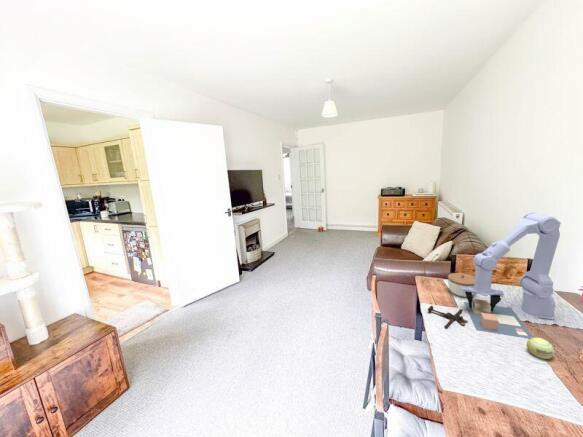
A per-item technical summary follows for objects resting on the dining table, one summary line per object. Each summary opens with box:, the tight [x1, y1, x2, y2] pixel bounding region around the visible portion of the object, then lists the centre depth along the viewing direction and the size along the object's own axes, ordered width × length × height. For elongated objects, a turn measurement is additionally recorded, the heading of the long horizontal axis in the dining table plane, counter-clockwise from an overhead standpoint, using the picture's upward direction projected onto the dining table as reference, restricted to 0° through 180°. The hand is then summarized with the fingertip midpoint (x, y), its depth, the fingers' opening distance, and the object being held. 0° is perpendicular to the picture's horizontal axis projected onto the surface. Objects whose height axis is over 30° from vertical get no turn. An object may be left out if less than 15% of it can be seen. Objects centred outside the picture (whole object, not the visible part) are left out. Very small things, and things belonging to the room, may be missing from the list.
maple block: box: [472, 298, 491, 315], centre depth 108 cm, size 6×6×4 cm
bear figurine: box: [427, 305, 468, 329], centre depth 107 cm, size 18×4×14 cm
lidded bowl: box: [447, 272, 475, 298], centre depth 124 cm, size 13×13×11 cm
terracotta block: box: [480, 313, 498, 331], centre depth 98 cm, size 4×4×4 cm
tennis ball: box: [526, 337, 555, 360], centre depth 83 cm, size 6×7×7 cm
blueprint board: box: [463, 301, 535, 340], centre depth 104 cm, size 18×22×1 cm
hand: (480, 308), depth 108 cm, fingers open, 7 cm apart
